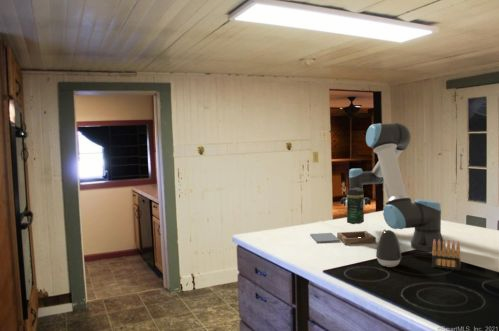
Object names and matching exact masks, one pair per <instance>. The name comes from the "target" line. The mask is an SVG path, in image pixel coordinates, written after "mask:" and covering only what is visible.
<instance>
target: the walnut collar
mask: <svg viewBox="0 0 499 331" xmlns="http://www.w3.org/2000/svg"><path fill="white" fill-rule="evenodd" d="M336 233H337V234H336V237H337V238H338V239H339V240H340V242H342V243H343V244H344V245H345V246H350V245H366V244H370V245H371V244H376V243H377V237H376V236H375V235H373V234H371V233H370V232H368V231H367V230H364V231H363V230H362V231H361V230H359V231H343V232H341V231H339V232H336ZM358 237H361V238H358Z"/></svg>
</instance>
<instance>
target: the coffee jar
mask: <svg viewBox="0 0 499 331" xmlns="http://www.w3.org/2000/svg"><path fill="white" fill-rule="evenodd" d="M364 191H365V190H364V188H363V189H362V188H357V187H355V188H352V189H349V188H348V189H347V190H346V198H347V207H346V223H347V224H350V225H360V224H363V223H364V222H365V214H364V211H365V210H364V208H365V207H363V199H365V197H364V196H365V195H364V193H365V192H364Z"/></svg>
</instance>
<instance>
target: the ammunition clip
mask: <svg viewBox="0 0 499 331" xmlns="http://www.w3.org/2000/svg"><path fill="white" fill-rule="evenodd" d="M460 246H461V245H460V241H457V242H456V244H455V241H454V240H452V242H450V240H447V243H446V240H445V239H443V244H442V251H441V242H440V239H439V240H438V247H437V249H436V241H435V239H434V241H433V248H432V251H431V252H432V254H431V255H432V256H431V268H433V267H441V268H451V269H460V268H461V265H462V264H461V247H460ZM441 268H440V269H441ZM461 269H462V268H461Z"/></svg>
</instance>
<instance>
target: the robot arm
mask: <svg viewBox="0 0 499 331" xmlns="http://www.w3.org/2000/svg"><path fill="white" fill-rule="evenodd" d="M365 134H366V135H365V142H366V145H367V147H368V148H369V147H370V148H372V150H373V153H374V154H376V155H377V159H378V161H377V163H376V164H375V166H374V167H373V169H372V170H370V171H367V170H366V171H365V170H364V171H363V169H362V168H351V169H349V171H348V173H349V174H348V178H349V180H348V181H349V188H348V190H349V189H352V188H355V187H357V188H362V189H363V190H364V188H363V187H364V185H373V184H374V185H380V184H384V188H385V193H386V197H387V200H386V202H385V206H384V208H383V213H382V215H383V218H384V221H385V223H386V224H387V226H388V227H389V228H391V229H393V230H403V229H412V228H413V229H414V231H413V235H412V238H411V240H410V247H411V248H412V249H414V250H417V251H422V252H432V248H433V241H434V239H435V241H436V249H437V247H438V240H439V239H440V242H441V252H442V244H443V240H444V238H443V234H442V231H441V229H442V228H441V227H442V226H441V225H442V223H441V222H442V221H441V219H442V210H441V209H442V206H441V203H440V202H438V201H436V200H429V199H424V198H423V199H421V198H417V199H416V198H415V199H414V202H412V198H411V197H410V196H408V195H407V192H406V189H405V185H404V181H403V177H402V173H401V169H400V166H399V160H398V158H399V156H400V155H401V153H402V152H403V151H405V150H406V149H407V148H408V147H409V145H410V144H411V140H412V135H411V132H410V129H409V127H407V125H405V124H402V123H400V122H394V123H393V122H391V123H380V122H379V123H373V124H371V125H370V126H369V127H368V128H367V130H366V133H365ZM339 202H340V205H343V207H345V208H347V196H346V197H345V196H343V197H342V198H341V199H340V201H339ZM371 203H372V200H371V199H370V198H369V197H368V196H367V197H364V199H363V207H364V208H366V206H367V205H369V206H370V205H372V204H371Z"/></svg>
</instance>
